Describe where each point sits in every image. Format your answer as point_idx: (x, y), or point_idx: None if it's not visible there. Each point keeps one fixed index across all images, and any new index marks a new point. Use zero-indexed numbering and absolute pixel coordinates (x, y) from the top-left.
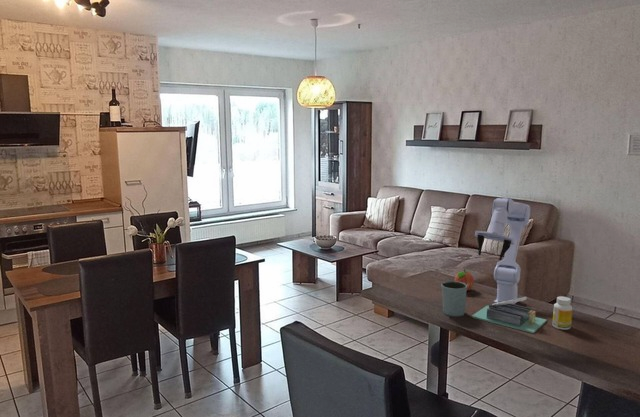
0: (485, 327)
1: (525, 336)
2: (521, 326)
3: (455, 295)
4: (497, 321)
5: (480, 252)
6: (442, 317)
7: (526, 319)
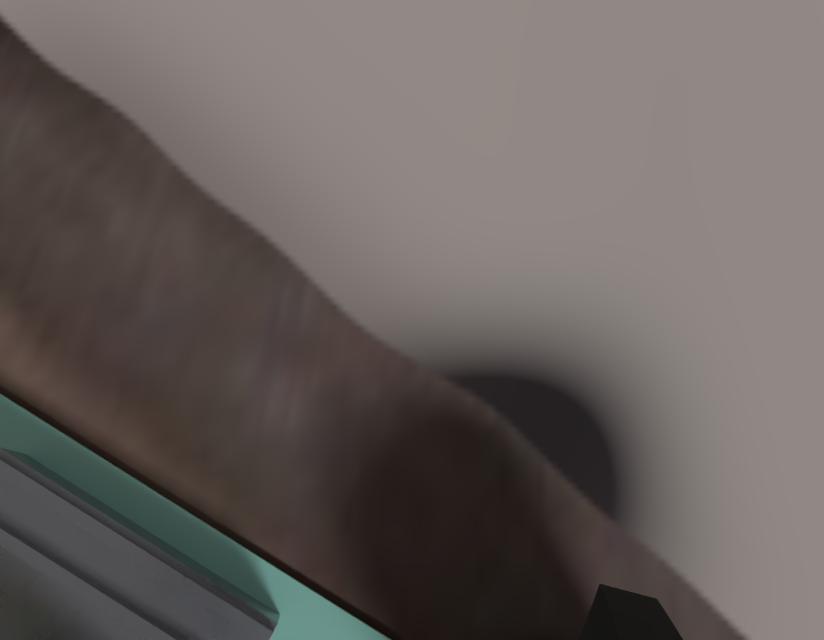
0: (319, 433)
1: (39, 298)
2: None
3: None
4: (196, 547)
5: (611, 597)
6: None
7: None
